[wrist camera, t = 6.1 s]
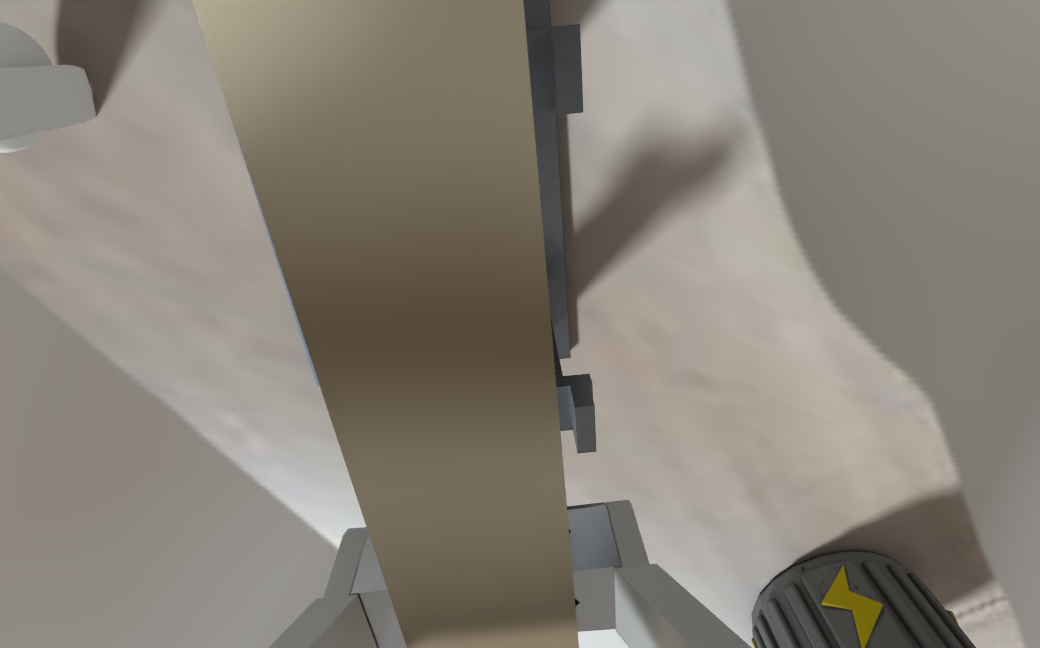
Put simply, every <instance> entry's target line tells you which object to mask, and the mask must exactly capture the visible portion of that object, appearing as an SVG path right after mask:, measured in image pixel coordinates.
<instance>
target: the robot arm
mask: <svg viewBox="0 0 1040 648" xmlns="http://www.w3.org/2000/svg"><path fill="white" fill-rule="evenodd" d="M567 515H568V527H569V539H570V550H571V562H572V574H573V585H574V597H575V609H576V620H577V632H579V631H593V630H607V629H616V632H617V633H618V634H619V635H620V637H621V638H622V639H623V640H624V642H625V643H626V644H627V645H628V647H629V648H751V647H750V646H749V645H748V644H747V643H746V642H745V641H743V640H742V639H741V638H740V637H739V636H738V635H737V634H735V633H734V632H733V631H732V630H731V629H730V628H729V627H728V626H726V625H725V624H724V623H723V622H722V621H721V620H720V619H718V618H717V617H716V616H715V615H714V614H713V613H712V612H711V611H709V610H708V609H707V608H706V607H705V606H704V605H703V604H702V603H700V602H699V601H698V600H697V599H696V598H695V597H694V596H692V595H691V594H690V593H689V592H688V591H687V590H686V589H685V588H683V587H682V586H681V585H680V584H679V583H678V582H677V581H675V580H674V579H673V578H672V577H671V576H670V575H669V574H668V573H666V572H665V571H664V570H663V569H662V568H661V567H660V566H659V565H657V564H649V561H648V558H647V554H646V551H645V548H644V544H643V541H642V537H641V534H640V531H639V527H638V524H637V521H636V517H635V514H634V511H633V507H632V504H631V502H630V501H629V500H622V501H613V502H606V503H604V502H603V503H594V504H586V505H577V506H568V507H567ZM268 648H407V647H406V644H405V641H404V638H403V635H402V632H401V629H400V626H399V623H398V620H397V617H396V614H395V611H394V608H393V604H392V601H391V598H390V595H389V592H388V589H387V586H386V583H385V580H384V577H383V574H382V571H381V568H380V565H379V562H378V559H377V556H376V553H375V550H374V547H373V544H372V541H371V538H370V535H369V532H368V529H367V527H364V528H351V529H348V530H347V531H346V532H345V534H344V535H343V538H342V541H341V544H340V547H339V550H338V553H337V556H336V559H335V562H334V565H333V569H332V572H331V575H330V578H329V581H328V584H327V588H326V590H325V594H324V597H323V598H318V599H315V600H314V602H313V603H312V604H310V606H309V607H308V608H306V609H305V611H304V612H303V613H302V614H301V615H300V616H299V617H298V618H297V619H296V620H295V621H294V622H293V623H292V624H291V625H290V626H289V627H288V628H287V629H286V630H285V631H284V632H283V633H282V634H281V635H280V636H279V637H278V638H277V639H276V640H275V641H274V642H273V643H272V644H271V645H270V646H269V647H268Z"/></svg>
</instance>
